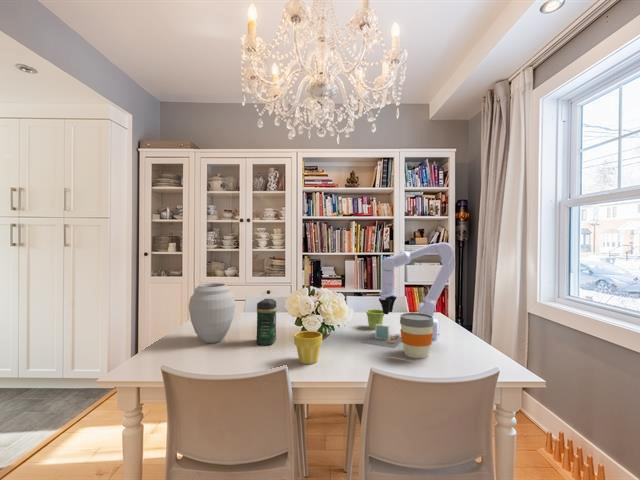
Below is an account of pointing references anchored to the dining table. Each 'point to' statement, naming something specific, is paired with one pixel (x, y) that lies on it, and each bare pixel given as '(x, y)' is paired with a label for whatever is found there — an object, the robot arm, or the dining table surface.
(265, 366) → the dining table surface
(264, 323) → the coffee jar
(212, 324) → the vase
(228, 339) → the dining table surface
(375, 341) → the mat
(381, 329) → the tile
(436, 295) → the robot arm
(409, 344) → the reusable coffee cup
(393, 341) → the wooden plank
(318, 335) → the plant pot
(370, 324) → the plant pot
